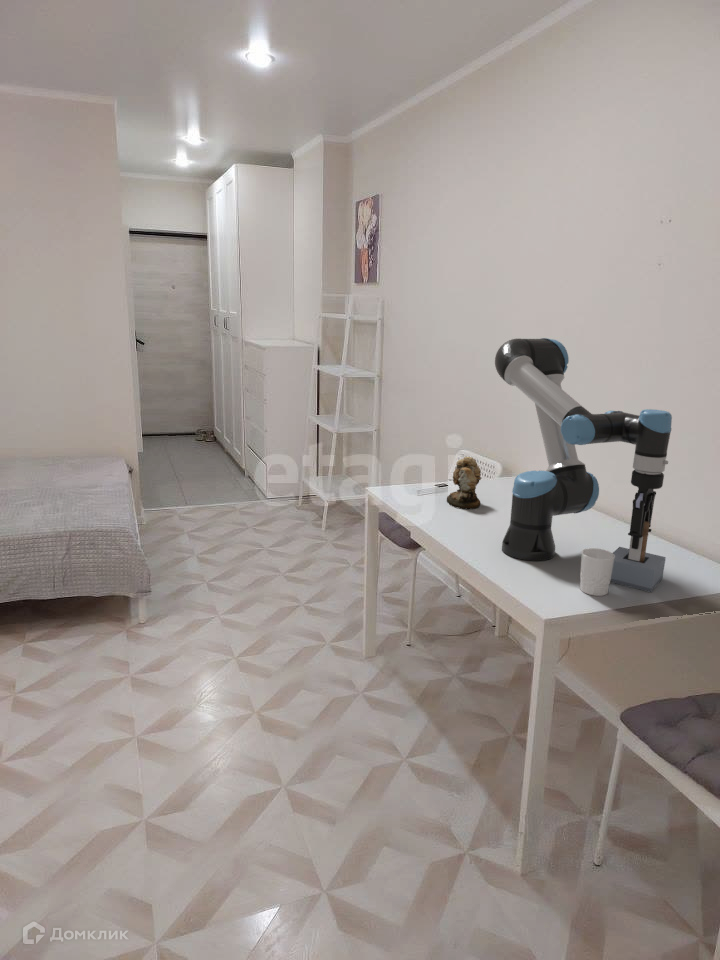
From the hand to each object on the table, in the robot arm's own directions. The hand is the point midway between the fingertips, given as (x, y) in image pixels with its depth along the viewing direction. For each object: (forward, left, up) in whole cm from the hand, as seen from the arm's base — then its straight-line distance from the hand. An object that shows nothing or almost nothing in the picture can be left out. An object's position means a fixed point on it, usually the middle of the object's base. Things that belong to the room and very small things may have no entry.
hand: (636, 557), depth 177 cm
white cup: (-6, -14, -7) cm, 17 cm away
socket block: (0, 0, -6) cm, 6 cm away
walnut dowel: (0, 0, -5) cm, 5 cm away
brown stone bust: (-69, +34, -7) cm, 77 cm away
